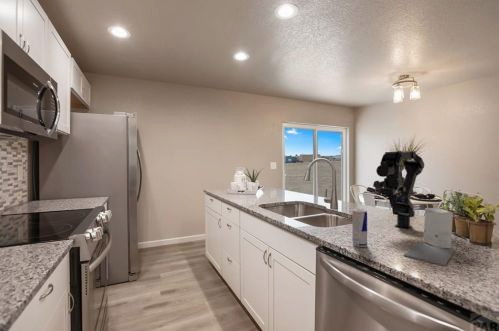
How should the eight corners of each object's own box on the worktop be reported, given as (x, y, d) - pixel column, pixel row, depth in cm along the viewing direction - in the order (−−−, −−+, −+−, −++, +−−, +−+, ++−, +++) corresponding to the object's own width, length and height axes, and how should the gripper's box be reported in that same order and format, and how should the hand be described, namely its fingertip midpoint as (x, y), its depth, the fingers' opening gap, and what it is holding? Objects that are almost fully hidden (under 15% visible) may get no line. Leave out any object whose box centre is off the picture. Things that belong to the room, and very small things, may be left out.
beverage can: (366, 248, 98) (366, 211, 97) (351, 246, 101) (351, 210, 100) (368, 244, 102) (367, 209, 102) (353, 242, 105) (353, 208, 105)
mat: (417, 244, 102) (417, 242, 102) (454, 252, 93) (454, 250, 93) (403, 256, 90) (403, 254, 90) (444, 266, 81) (444, 264, 81)
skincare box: (423, 241, 105) (423, 207, 105) (437, 241, 105) (437, 207, 105) (438, 248, 97) (438, 211, 97) (453, 248, 97) (453, 211, 97)
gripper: (382, 174, 133) (382, 202, 134) (368, 176, 121) (368, 207, 121) (405, 175, 125) (405, 205, 125) (392, 177, 112) (392, 210, 113)
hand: (392, 207), depth 121 cm, fingers closed
